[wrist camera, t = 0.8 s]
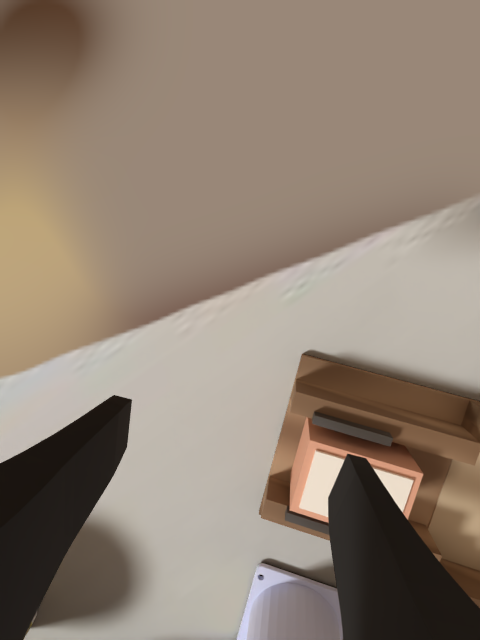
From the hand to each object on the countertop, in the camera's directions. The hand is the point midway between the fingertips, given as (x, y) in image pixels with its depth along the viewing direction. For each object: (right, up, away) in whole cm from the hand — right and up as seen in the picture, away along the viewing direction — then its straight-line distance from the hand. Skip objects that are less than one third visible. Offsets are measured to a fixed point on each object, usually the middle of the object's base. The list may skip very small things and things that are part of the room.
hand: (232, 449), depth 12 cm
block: (+8, -6, +16) cm, 19 cm away
